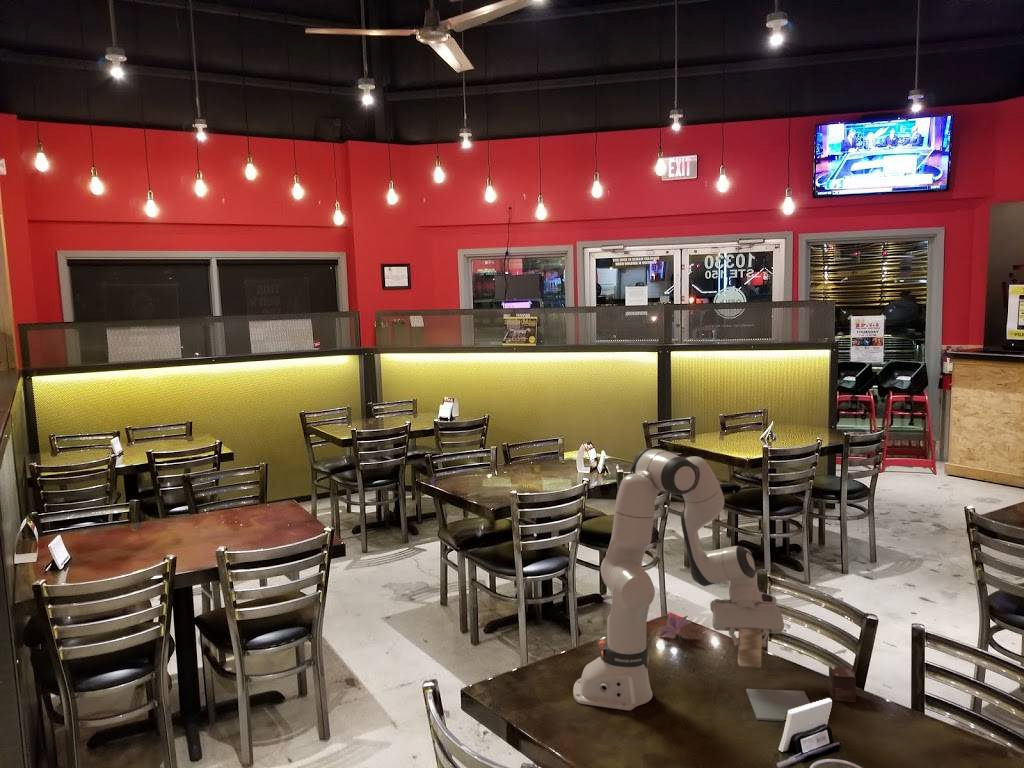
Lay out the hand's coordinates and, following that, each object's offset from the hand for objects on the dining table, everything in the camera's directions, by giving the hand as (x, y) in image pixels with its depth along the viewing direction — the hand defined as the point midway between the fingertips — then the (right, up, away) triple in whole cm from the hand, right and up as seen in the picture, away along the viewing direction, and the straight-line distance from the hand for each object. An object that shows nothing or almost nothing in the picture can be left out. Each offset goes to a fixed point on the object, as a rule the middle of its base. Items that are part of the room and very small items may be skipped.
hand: (750, 645), depth 217 cm
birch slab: (0, -6, +1) cm, 6 cm away
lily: (-14, -10, +34) cm, 38 cm away
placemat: (+5, -13, -10) cm, 18 cm away
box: (+24, -13, -6) cm, 28 cm away
